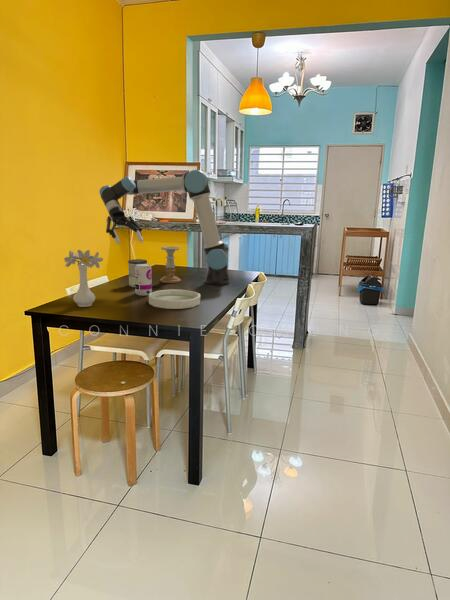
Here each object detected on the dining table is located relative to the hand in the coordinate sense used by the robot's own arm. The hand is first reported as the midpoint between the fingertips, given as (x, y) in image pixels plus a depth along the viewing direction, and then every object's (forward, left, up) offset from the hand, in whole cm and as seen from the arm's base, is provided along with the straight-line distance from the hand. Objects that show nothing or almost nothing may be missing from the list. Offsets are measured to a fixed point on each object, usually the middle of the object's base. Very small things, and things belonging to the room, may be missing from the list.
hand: (130, 242), depth 211 cm
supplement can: (-8, +8, -26) cm, 28 cm away
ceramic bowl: (-25, +24, -25) cm, 43 cm away
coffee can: (-2, -13, -26) cm, 29 cm away
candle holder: (-19, -26, -26) cm, 41 cm away
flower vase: (+15, +32, -26) cm, 44 cm away
